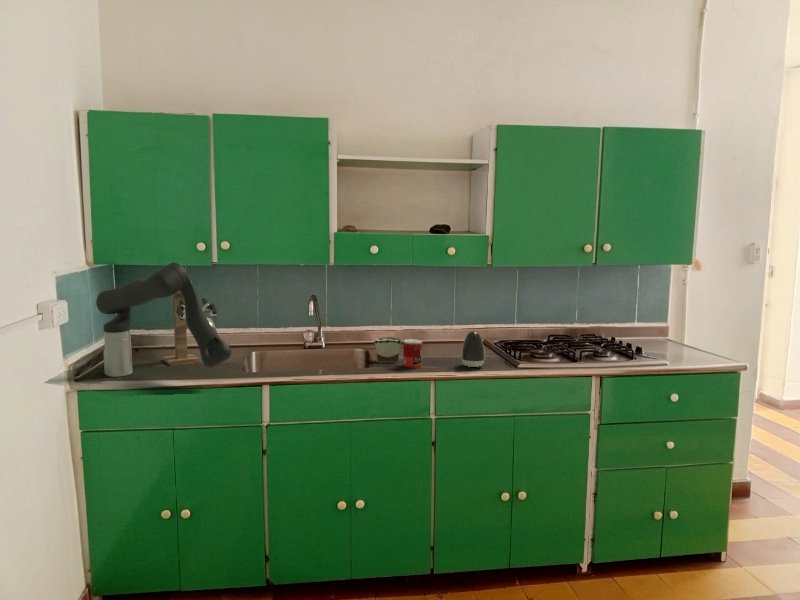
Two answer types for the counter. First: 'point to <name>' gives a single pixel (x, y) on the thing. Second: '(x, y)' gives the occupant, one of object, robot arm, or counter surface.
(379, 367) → the counter surface
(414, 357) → the canned food
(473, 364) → the grey egg shaped speaker
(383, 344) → the food container
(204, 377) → the counter surface
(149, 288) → the robot arm
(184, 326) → the stand
